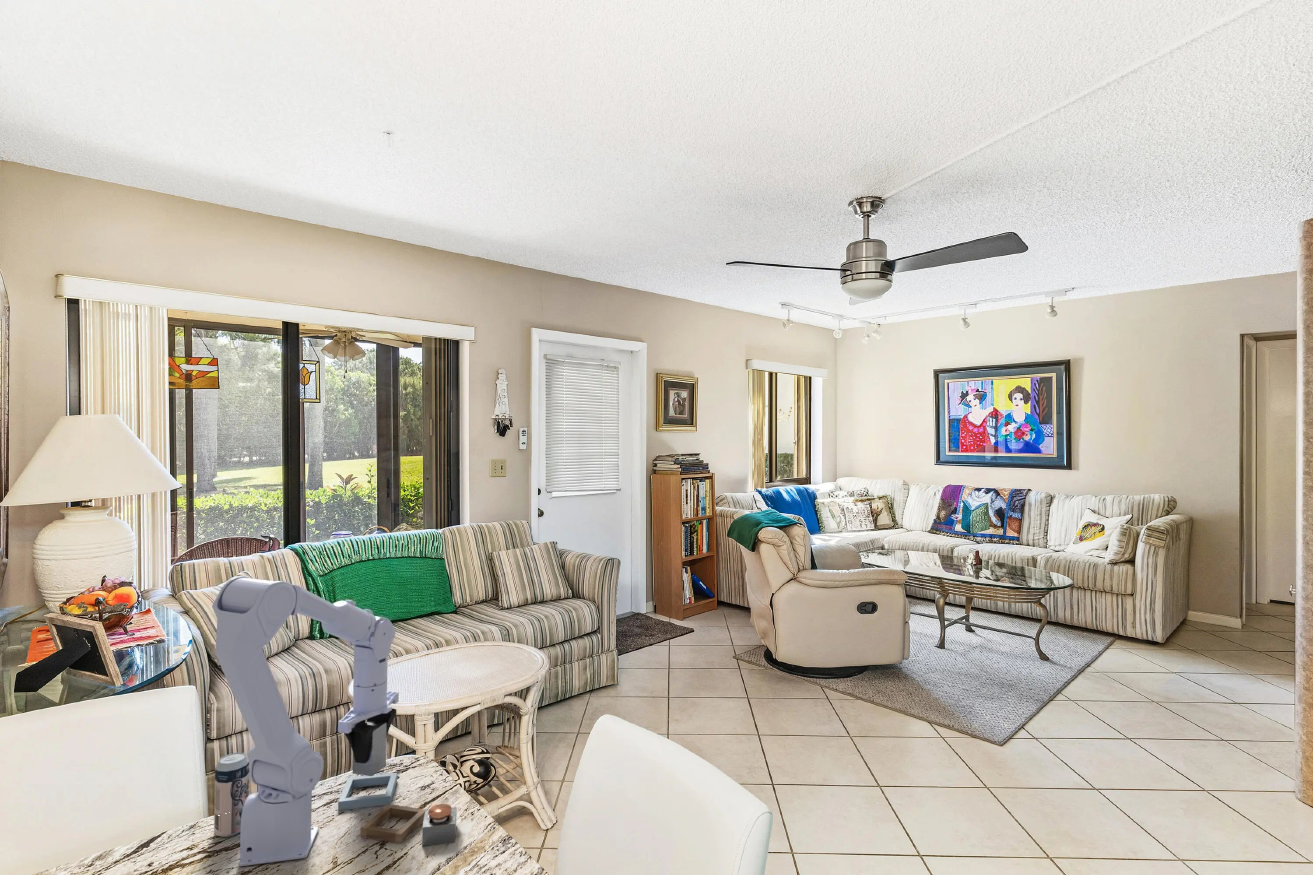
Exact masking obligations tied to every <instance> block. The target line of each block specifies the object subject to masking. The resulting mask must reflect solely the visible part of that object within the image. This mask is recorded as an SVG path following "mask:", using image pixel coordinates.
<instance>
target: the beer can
mask: <svg viewBox="0 0 1313 875" xmlns="http://www.w3.org/2000/svg"><path fill="white" fill-rule="evenodd" d="M249 769H250V761H249V758H248V755H247V753H245V752H233V753H229V754H226V755H223V756H221V757H220V758H219V760H218V761H217V763H216V765H215V767H214V809H213V810H214V812H213V814H214V816H213V817H214V819H213V832H214V835H215V836H216V837H222V838H229V837H234V836H237V835H238V834H241V816H242V811H243V807H244V803H245V801H246V799H247V797H248V796H249V795H250V776H249ZM229 812H230V813H229ZM225 813H227V814H225ZM218 815H220V816H218Z"/></svg>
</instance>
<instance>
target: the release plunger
mask: <svg viewBox="0 0 1313 875" xmlns="http://www.w3.org/2000/svg"><path fill="white" fill-rule="evenodd" d="M451 808H452V806H451V805H449V804H447V803H439V804H436V805H433V806H432V807H430V808H429V809H428V810H429V812H428V816H429V818H431V819H432V823H436V822H444V821H448V816H449V815H450V814H451Z"/></svg>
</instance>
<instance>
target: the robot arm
mask: <svg viewBox="0 0 1313 875" xmlns="http://www.w3.org/2000/svg"><path fill="white" fill-rule="evenodd" d="M356 604H357V601H355V600H353V599H345V600H338V601H335V602H333V603H332V602H330V601H328V600H326V599H325V598H322V597H320V596H319V595H317V594H315V593H313V592H311V591H309V590H307V589H305V588H304V587H301V586H300V585H297V584H292V583H289V582H288V581H283V580H277V581H275V580H267V579H258V578H257V579H256V578H251V577H249V576H241V575H239V576H236V577H233V578H231V579H229V580H228V581H226V583H224V584H223V585H222V587H221V589H220V591H219V592H218V594H217V596H216V598H215V599H214V601H213V603H212V605H211V607H212V610H213V612H214V614H215V617H216V619H217V621H216V635H215V639H216V640H215V655H216V658H217V661H218V663H219V664H220V667H221V670H222V671H223V674H224V677H225V679H226V681H227V684H228V686H229V688H230V690H231V694H232V696H233V698H234V700H235V703H236V705H237V707H238V709H239V711H240V714H241V716H242V718H243V721H244V723H245V725H246V728H247V730H248V732H249V735H250V736H251V739H252V741H253V744H252V746H251V747H250V749H249V750H248V751H247V753H246V755H247V757H248V759H249V780H250V781H251V782H252V783H253V784H254V785H257V792H254V793H249V796H248V797H247V799H246V801H245V803H244V807H243V811H242V816H241V832H240V838H239V839H240V841H239V843H240V845H239V846H240V847H239V848H240V849H239V852H240V853H239V860H238V863H237V864H238V866H239V867H245V866H252V865H253V866H254V865H261V864H268V863H276V862H283V861H293V860H299V859H305V858H307V857H308V855H309V853H310V850H311V848H312V846H313V844H314V842H315V840H316V837H317V835H318V832H319V829H320V828H319V827H318V826H314V827H312V811H313V810H312V805H313V803H312V800H313V799H312V798H313V797H312V796H313V791H314V790H315V789H316V787H317V785H318V784H319V781H320V779H321V777H322V775H323V773H324V772H323V771H324V759H323V757H322V755H321V754H320V752H317V751H315V750H314V749H313V746H312V745H311V743H310V742H309V741H308V739H306V738H305V737H304V736H302V735H301V734H300V733H299V732H297V731H296V730H295V728H294V725H293V723H292V720H291V717H290V715H289V713H288V710H287V708H286V705H285V703H284V700H283V698H282V695H281V693H280V690H279V687H278V685H277V682H276V681H275V677H274V676H273V673H272V670H271V667H270V664H269V663H268V660H267V658H266V655H265V653H264V649H263V648H264V647H265V646H266V645H268V644H270V642H271V640H273V638H274V637H275V635H277V633H278V631H279V630H280V629H281V628H282V626H283V625H284V624H285V623H286V622H287V620H288V618H289V617H290V616H296V615H297V614H298V615H301V616H304V617H306V618H310V619H312V620H314V621H318V622H321V628H322V629H323V631H324V632H325V633H327V634H329V635H331V636H334V637H337V638H339V639H341V640H344V641H346V642H347V644H348V645H349V646H350V647H352V646H353V680H352V682H353V684H352V685H353V687H352V695H353V696H352V700H353V701H352V707H351V708H350V709H349V711H348V712H347V713H346V714H345V715H344V717H343V718H341V719H340V720H338V722H337V723H338V725H337V732H338V733H341V734H343V735H345V737H346V739H347V740H348V742H349V745H350V747H351V748H350V749H351V751H352V756H353V755H354V759H355V762H356V763H364V764H365V763H366V762H367V761H368V757H369V748H370V741H371V737H372V734H373V731H374V729H375V727H376V726H373V725H367V723H366V721H367V720H370V721H378V722H386V739H387V737H388V734H389V731H390V728H391V725H392V723H393V721H394V719H395V717H396V716H397V709H396V708H393V707H392V704H393V705H394V704H395V705H397V703H399V694H400V692H397V691H388V657H389V656H390V653H391V646H392V643H393V642H394V639H395V636H396V631H397V630H396V629H395V628H394V627H395V626H394V625H393V623H392V621H391V620H390V619H389V618H387V617H384V616H378V615H374V614H373V613H374V612H373V610H371V609H368V608H367V609H366V608H365V609H362V608H360V607H358V606H356Z"/></svg>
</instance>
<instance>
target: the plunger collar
mask: <svg viewBox="0 0 1313 875" xmlns="http://www.w3.org/2000/svg"><path fill="white" fill-rule="evenodd" d="M426 810H427V811H425V816H424V821H423V823H422V830H421V836H422V837H421V846H422V847H427V846H435V845H442V844H444V845H445V844H449V843H450V844H451V843H455V842H456V835H457V834H456V832H457V806H456V807H455V806H453V807H451V814H450V815H449V816H448V821H444V822H436V823H432V819H431V818H429V816H428V812H429V809H426Z"/></svg>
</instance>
